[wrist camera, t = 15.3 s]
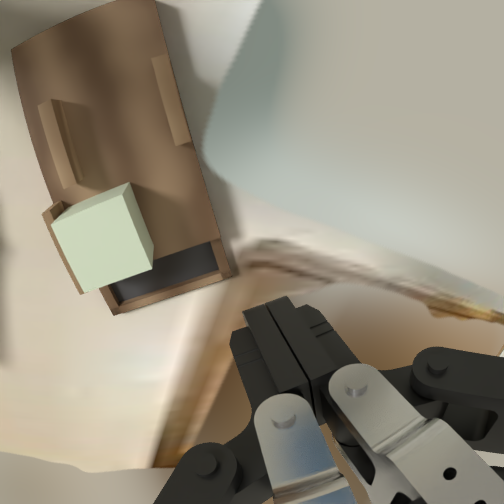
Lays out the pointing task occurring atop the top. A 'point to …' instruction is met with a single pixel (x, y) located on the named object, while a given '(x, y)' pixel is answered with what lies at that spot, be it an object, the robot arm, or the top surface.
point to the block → (105, 238)
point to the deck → (121, 141)
